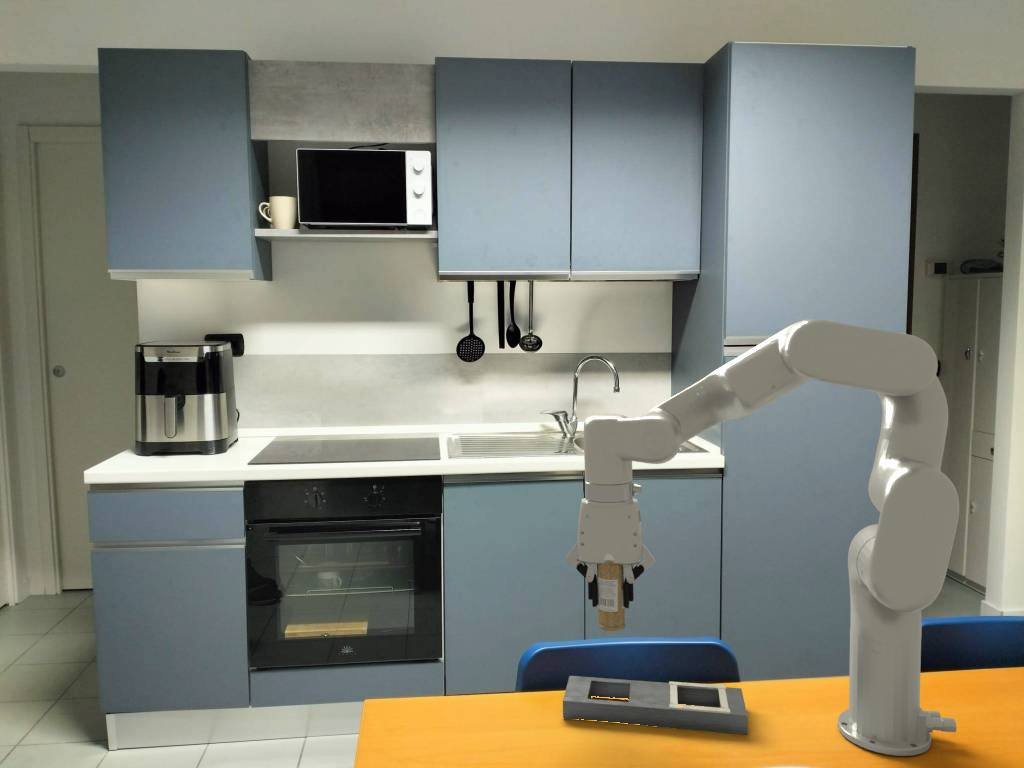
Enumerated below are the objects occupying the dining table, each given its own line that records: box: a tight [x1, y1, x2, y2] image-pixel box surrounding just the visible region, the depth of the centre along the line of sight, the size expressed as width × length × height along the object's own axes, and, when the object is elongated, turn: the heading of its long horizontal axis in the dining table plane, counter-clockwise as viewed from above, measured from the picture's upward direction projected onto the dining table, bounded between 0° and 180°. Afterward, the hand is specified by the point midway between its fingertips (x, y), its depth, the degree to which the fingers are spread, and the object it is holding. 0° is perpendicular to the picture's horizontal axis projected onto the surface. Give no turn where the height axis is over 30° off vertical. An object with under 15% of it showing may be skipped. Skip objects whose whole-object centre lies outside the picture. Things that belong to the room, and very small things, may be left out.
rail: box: [562, 675, 748, 736], centre depth 122 cm, size 28×9×3 cm, turn 79°
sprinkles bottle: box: [596, 554, 627, 632], centre depth 122 cm, size 5×5×13 cm
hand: (611, 603), depth 122 cm, fingers closed on sprinkles bottle, 4 cm apart
